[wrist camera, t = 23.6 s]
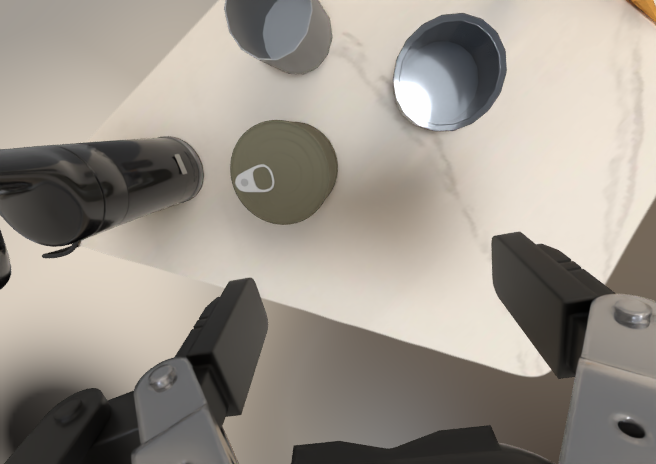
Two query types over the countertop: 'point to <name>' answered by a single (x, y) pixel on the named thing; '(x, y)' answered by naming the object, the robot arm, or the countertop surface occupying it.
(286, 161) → the can
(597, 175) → the countertop surface
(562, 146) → the countertop surface
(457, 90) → the pen pot
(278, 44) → the cup
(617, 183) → the countertop surface
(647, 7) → the carrot
